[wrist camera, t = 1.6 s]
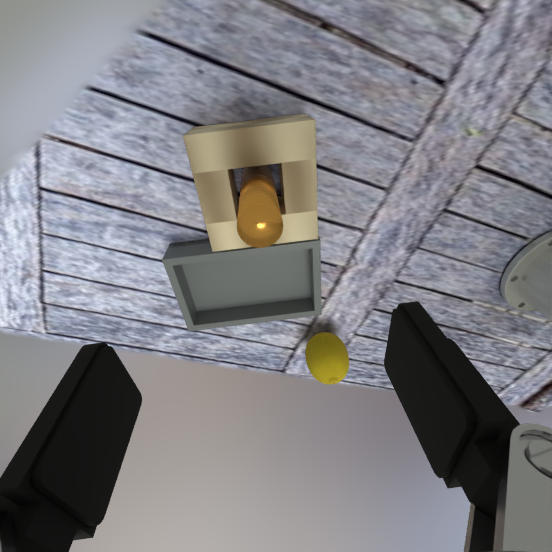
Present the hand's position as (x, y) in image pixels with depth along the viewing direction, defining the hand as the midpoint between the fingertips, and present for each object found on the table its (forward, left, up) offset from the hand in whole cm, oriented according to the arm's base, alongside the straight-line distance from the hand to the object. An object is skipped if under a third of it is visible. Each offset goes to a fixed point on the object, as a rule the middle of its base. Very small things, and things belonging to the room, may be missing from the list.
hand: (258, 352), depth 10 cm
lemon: (-6, +23, -23) cm, 33 cm away
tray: (+2, +11, -23) cm, 25 cm away
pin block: (0, 0, -23) cm, 23 cm away
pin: (0, 0, -23) cm, 23 cm away
